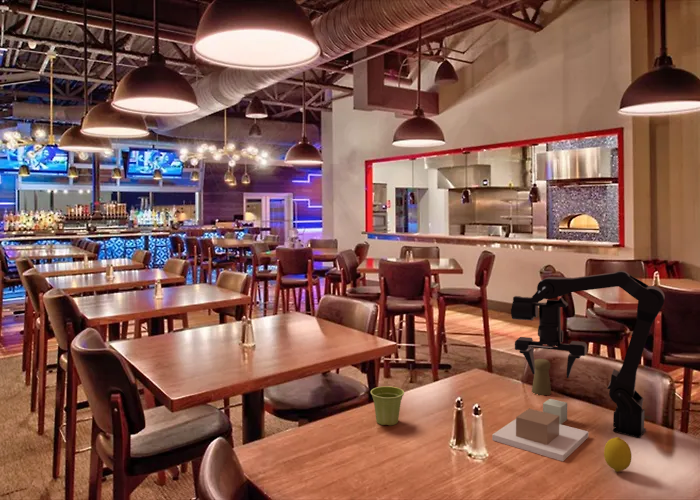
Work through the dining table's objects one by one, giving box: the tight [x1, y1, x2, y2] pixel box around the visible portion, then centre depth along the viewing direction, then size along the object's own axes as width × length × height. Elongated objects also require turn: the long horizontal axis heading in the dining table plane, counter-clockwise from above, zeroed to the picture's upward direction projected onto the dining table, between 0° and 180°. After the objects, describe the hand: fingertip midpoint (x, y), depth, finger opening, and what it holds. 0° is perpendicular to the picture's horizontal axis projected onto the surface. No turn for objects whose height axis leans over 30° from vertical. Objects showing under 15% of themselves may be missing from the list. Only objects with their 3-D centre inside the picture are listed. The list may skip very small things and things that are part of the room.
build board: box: [491, 408, 590, 462], centre depth 137 cm, size 18×18×6 cm
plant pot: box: [370, 385, 405, 426], centre depth 149 cm, size 9×9×9 cm
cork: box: [531, 358, 552, 396], centre depth 172 cm, size 6×6×11 cm
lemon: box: [603, 436, 633, 473], centre depth 119 cm, size 6×6×8 cm
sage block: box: [542, 398, 568, 425], centre depth 150 cm, size 5×5×5 cm
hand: (550, 375), depth 151 cm, fingers open, 9 cm apart
